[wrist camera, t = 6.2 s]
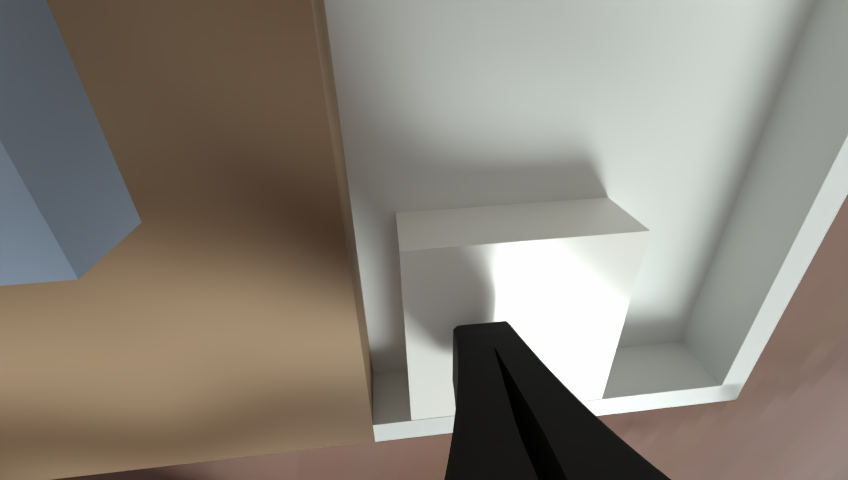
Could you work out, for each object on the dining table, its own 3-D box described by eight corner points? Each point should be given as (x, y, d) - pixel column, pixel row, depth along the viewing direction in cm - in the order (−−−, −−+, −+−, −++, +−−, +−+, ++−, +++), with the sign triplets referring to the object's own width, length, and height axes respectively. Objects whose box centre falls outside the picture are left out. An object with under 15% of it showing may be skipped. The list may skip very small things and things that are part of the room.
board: (375, 379, 14) (375, 441, 12) (-45, 423, 13) (-122, 499, 11) (298, -214, 7) (265, -309, 5) (-671, -225, 6) (-1240, -352, 4)
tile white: (574, 351, 14) (601, 398, 13) (406, 369, 14) (411, 420, 12) (607, 197, 11) (650, 230, 10) (395, 212, 11) (399, 250, 9)
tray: (687, 347, 15) (735, 399, 13) (375, 379, 14) (375, 441, 12) (915, -207, 8) (1106, -284, 6) (298, -214, 7) (265, -309, 5)
